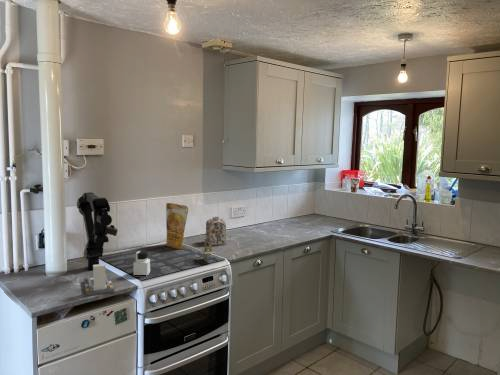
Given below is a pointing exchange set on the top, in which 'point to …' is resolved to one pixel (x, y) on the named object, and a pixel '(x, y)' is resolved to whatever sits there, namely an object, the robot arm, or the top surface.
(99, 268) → the slider tab
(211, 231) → the decorative jar
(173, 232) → the pancake mix bag
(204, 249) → the architectural model
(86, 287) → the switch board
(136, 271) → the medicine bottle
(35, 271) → the top surface
